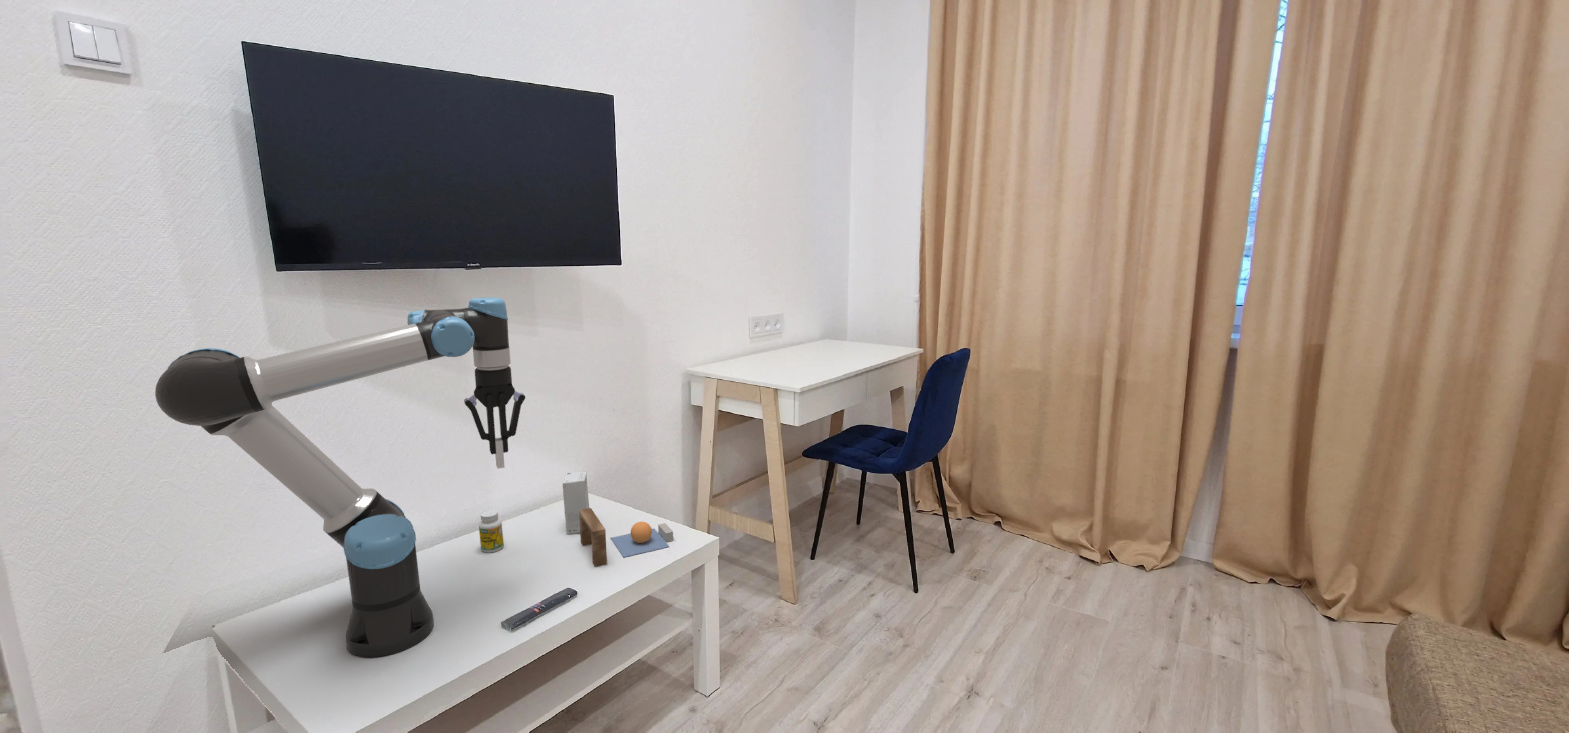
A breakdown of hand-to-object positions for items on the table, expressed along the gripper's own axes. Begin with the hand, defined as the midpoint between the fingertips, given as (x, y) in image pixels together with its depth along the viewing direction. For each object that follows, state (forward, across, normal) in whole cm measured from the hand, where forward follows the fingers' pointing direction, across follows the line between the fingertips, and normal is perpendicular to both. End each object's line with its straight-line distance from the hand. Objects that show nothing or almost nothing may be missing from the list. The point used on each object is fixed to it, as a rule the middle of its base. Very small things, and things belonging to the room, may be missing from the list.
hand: (500, 466), depth 152 cm
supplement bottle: (+27, +2, -14) cm, 30 cm away
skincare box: (+27, -20, -16) cm, 37 cm away
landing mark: (+26, -32, +1) cm, 41 cm away
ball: (+24, -33, +1) cm, 40 cm away
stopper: (+26, -39, +1) cm, 47 cm away
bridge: (+26, -20, +1) cm, 33 cm away
